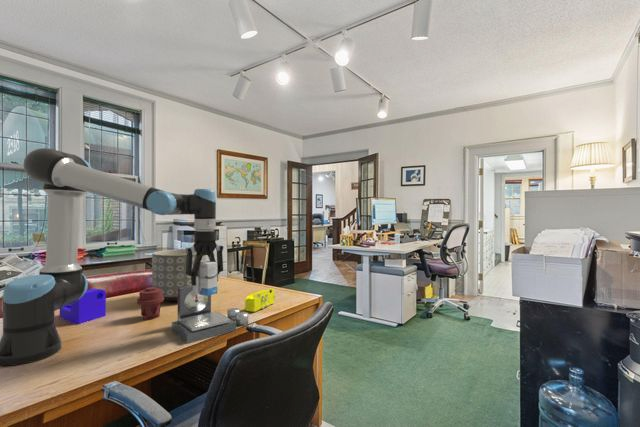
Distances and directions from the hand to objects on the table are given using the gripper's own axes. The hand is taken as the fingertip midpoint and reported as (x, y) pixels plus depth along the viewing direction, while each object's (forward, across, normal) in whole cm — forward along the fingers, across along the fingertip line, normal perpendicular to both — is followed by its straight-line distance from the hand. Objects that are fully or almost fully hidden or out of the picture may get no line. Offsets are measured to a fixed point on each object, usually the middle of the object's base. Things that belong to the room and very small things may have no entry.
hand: (204, 292), depth 116 cm
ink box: (+1, 0, 0) cm, 1 cm away
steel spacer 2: (+14, +14, -2) cm, 20 cm away
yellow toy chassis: (+15, +31, +11) cm, 36 cm away
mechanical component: (+14, -11, +30) cm, 35 cm away
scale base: (+14, 0, +2) cm, 15 cm away
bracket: (+15, -34, +50) cm, 62 cm away
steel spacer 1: (+14, +14, +5) cm, 21 cm away
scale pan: (+11, 0, 0) cm, 11 cm away
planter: (+14, +8, +53) cm, 55 cm away
